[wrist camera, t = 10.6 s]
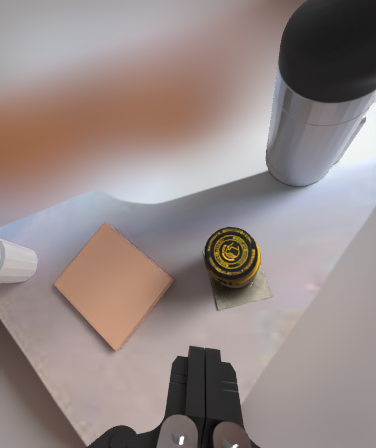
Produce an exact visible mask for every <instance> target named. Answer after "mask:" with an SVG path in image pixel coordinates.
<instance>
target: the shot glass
mask: <svg viewBox="0 0 376 448" xmlns="http://www.w3.org/2000/svg"><path fill="white" fill-rule="evenodd" d="M37 265H38V260H37V256H36V254H35V252H34V251H32V250H31V249H28V248H26V247H23V246H20V245H17V244H14V243H11V242H8V241H6V240H3V239H0V283H19V282H24V281H27V280H28V279H30V278H31V277H32V276H33V274H34V273H35V271H36V269H37Z"/></svg>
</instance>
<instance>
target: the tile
mask: <svg viewBox="0 0 376 448" xmlns="http://www.w3.org/2000/svg"><path fill="white" fill-rule="evenodd" d="M174 281H175V280H174V279H173V278H171V277H170V276H169V275H168V274H167V273H166V272H164V271H163V270H162V269H161V268H160V267H159V266H157V265H156V264H155V263H154V262H153V261H152V260H150V259H149V258H148V257H147V256H146V255H145V254H143V253H142V252H141V251H140V250H139V249H138V248H136V247H135V246H134V245H133V244H132V243H131V242H129V241H128V240H127V239H126V238H125V237H124V236H122V235H121V234H120V233H119V232H118V231H117V230H115V229H114V228H113V227H112V226H111V225H109V224H107V223H105V222H104V224H103V225H102V226H101V227H100V228H99V230H98V231H97V232H96V233H95V235H94V236H93V237H92V238H91V239H90V241H89V242H88V243H87V244H86V245H85V247H84V248H83V249H82V250H81V252H80V253H79V254H78V255H77V256H76V258H75V259H74V260H73V261H72V263H71V264H70V265H69V266H68V267H67V269H66V270H65V271H64V272H63V273H62V275H61V276H60V277H59V278H58V280H57V281H56V282H55V283H54V285H55V286H56V287H57V288H58V289H59V291H60V292H61V293H62V294H63V295H64V296H65V297H66V298H67V299H68V300H69V301H70V302H71V303H72V305H73V306H74V307H75V308H76V309H77V310H78V311H79V312H80V313H81V314H82V315H83V316H84V317H85V319H86V320H87V321H88V322H89V323H90V324H91V325H92V326H93V327H94V328H95V329H96V330H97V331H98V333H99V334H100V335H101V336H102V337H103V338H104V339H105V340H106V341H107V342H108V343H109V344H110V345H111V347H112V348H113V349H114V350H115V351H117V350H119V349H122V347H123V346H124V345H125V343H126V342H127V341H128V340H129V338H130V337H131V336H132V334H133V333H134V332H135V331H136V329H137V328H138V327H139V326H140V324H141V323H142V322H143V320H144V319H145V318H146V317H147V315H148V314H149V313H150V311H151V310H152V309H153V308H154V306H155V305H156V304H157V302H158V301H159V300H160V299H161V297H162V296H163V295H164V293H165V292H166V291H167V290H168V288H169V287H170V286H171V284H172V283H173V282H174Z"/></svg>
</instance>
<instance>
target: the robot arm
mask: <svg viewBox="0 0 376 448" xmlns="http://www.w3.org/2000/svg"><path fill="white" fill-rule="evenodd" d="M375 98H376V0H307V1H306V2H304V3H303V4H302V5H301V6H300V7H299V8H298V9H297V10H296V11H295V13H294V14H293V15H292V16H291V18H290V19H289V21H288V23H287V25H286V27H285V30H284V32H283V35H282V40H281V45H280V52H279V60H278V67H277V75H276V82H275V91H274V98H273V106H272V113H271V120H270V128H269V136H268V143H267V150H266V164H267V167H268V170H269V171H270V173H271V174H272V175H273V176H274V177H275V178H276V179H277V180H279V181H281V182H282V183H285V184H288V185H292V186H306V185H310V184H313V183H315V182H317V181H319V180H320V179H322V178H323V177H324V176H325V175H326V174H327V173H328V171H329V170H330V168H331V167H332V165H333V164H334V163H337V162H339V160H340V159H341V157H342V156H343V154H344V153H345V151H346V150H347V148H348V147H349V145H350V144H351V142H352V141H353V139H354V138H355V136H356V135H357V133H358V132H359V130H360V129H361V127H362V126H363V124H364V123H365V121H366V116H365V114H366V112H367V111H368V109H369V108H370V106H371V105H372V103H373V102H374V100H375ZM87 448H260V447H258V446H257V445H256V444H255V443H254V442H252V440H251V439H250V438H249V437H248V434H247V433H246V431H245V429H244V425H243V419H242V413H241V405H240V399H239V393H238V385H237V379H236V372H235V371H234V369H233V367H232V366H231V364H230V363H227V362H221V355H220V350H217V349H210V348H205V350H204V348H202V347H195V346H189V352H188V357H183V356H177V358H176V359H175V360H174V362H173V363H172V369H171V376H170V383H169V390H168V397H167V404H166V411H165V416H164V419H163V421H162V422H161V424H160V425H159V426H158V427H157V428H155V429H154V430H152V431H150V432H146V433H141V434H136V432H135V431H134V430H133V429H132V428H130V427H128V426H124V425H120V426H115V427H113V428H111V429H109V430H108V431H106V432H105V433H104V434H103V435H101V436H100V437H99V438H98V439H96V440H95V441H94V442H93V443H91V444H90V445H89V446H88V447H87Z"/></svg>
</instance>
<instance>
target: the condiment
mask: <svg viewBox="0 0 376 448" xmlns="http://www.w3.org/2000/svg"><path fill="white" fill-rule="evenodd" d="M203 253H204V257H205V264H206V268H207V270H208V272H209V276H210V280H211V284H212V287H213V291H214V295H215V299H216V303H217V306H218V310H221V309H225V308H229V307H233V306H237V305H241V304H245V303H249V302H253V301H257V300H261V299H265V298H269V297H272V295H271V292H270V289H269V286H268V282H267V280H266V277H265V273H264V270H263V268H262V265H261V255H260V251H259V248H258V245H257V244H256V242H255V241H254V239H253V237H252V236H250V234H248V233H247V232H246V231H244V230H242V229H239V228H235V227H226V228H222V229H220V230H218V231H216V232H215V233H214V234H212V236H211V237H210V238H209V239H208V241H207V243H206V246H205V250H203ZM252 282H253V284H252V287H250V286H251V283H252ZM221 285H222V286H221Z"/></svg>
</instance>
